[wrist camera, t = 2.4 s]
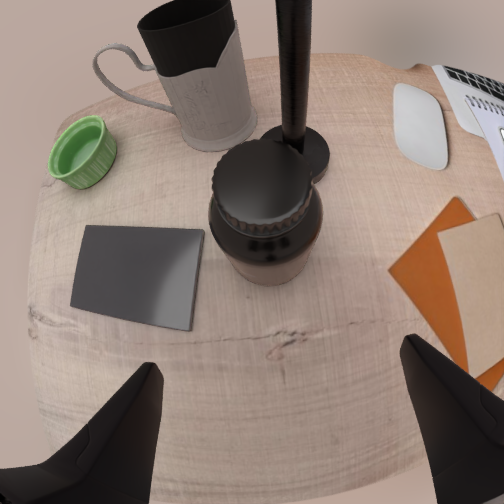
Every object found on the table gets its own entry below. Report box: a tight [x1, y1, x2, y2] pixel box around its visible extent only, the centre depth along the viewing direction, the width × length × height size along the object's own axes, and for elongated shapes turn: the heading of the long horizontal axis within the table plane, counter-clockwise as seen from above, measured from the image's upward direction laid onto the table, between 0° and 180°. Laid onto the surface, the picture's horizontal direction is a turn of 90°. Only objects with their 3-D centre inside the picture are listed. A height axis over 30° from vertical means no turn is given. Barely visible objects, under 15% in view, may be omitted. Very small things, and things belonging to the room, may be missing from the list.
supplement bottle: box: [208, 139, 323, 286], centre depth 18 cm, size 7×7×12 cm
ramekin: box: [48, 115, 117, 189], centre depth 27 cm, size 9×9×4 cm
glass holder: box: [93, 0, 257, 152], centre depth 22 cm, size 9×14×15 cm, turn 92°
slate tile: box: [70, 225, 204, 331], centre depth 24 cm, size 9×14×1 cm, turn 84°
